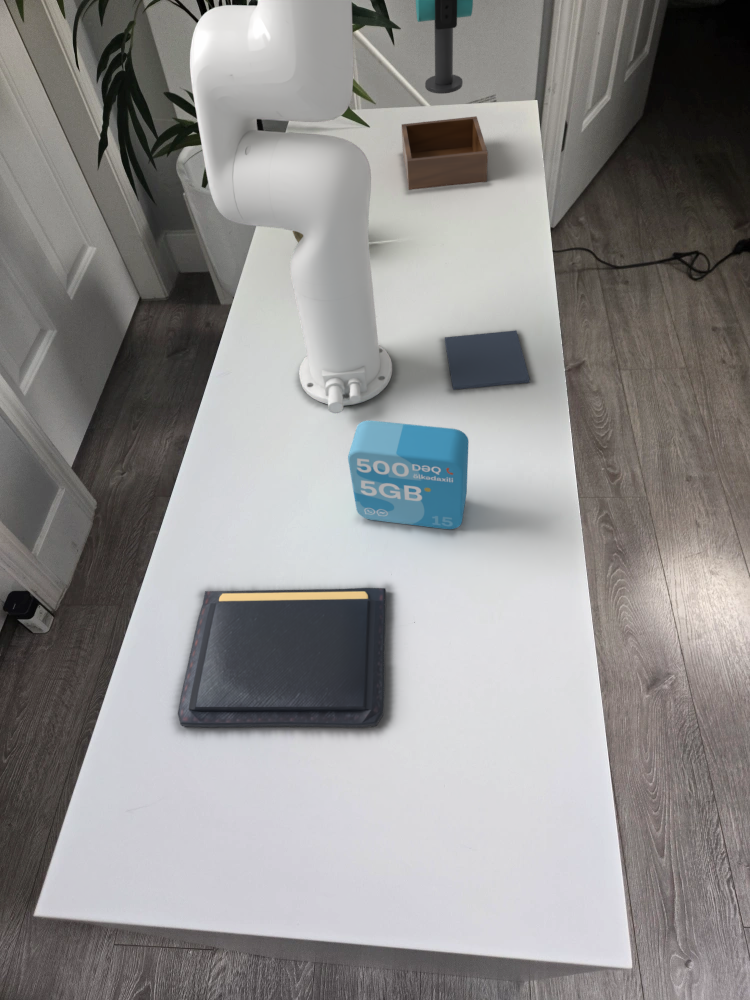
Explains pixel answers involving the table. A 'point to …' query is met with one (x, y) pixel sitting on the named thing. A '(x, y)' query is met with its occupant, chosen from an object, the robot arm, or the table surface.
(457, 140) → the open wooden box
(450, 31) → the mallet
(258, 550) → the table surface
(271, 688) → the wallet
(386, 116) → the table surface
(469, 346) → the mat
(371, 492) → the data package
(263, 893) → the table surface
